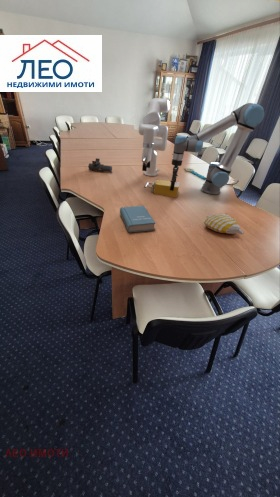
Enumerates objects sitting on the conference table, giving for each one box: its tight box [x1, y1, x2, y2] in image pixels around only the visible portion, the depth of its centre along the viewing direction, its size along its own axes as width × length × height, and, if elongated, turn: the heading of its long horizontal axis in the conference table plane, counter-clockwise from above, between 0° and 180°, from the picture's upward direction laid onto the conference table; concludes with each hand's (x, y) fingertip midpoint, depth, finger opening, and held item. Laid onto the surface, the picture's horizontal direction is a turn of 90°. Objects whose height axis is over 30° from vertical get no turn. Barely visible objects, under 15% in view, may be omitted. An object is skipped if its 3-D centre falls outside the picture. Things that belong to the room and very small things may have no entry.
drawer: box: [143, 180, 156, 193], centre depth 176 cm, size 23×10×6 cm, turn 77°
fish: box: [203, 213, 245, 235], centre depth 133 cm, size 25×8×20 cm
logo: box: [183, 167, 206, 180], centre depth 223 cm, size 34×10×1 cm, turn 16°
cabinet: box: [153, 179, 180, 198], centre depth 176 cm, size 18×11×8 cm, turn 77°
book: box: [119, 205, 156, 233], centre depth 136 cm, size 23×16×5 cm
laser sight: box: [88, 158, 113, 173], centre depth 208 cm, size 10×22×10 cm, turn 78°
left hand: (146, 169), depth 171 cm, fingers open, 9 cm apart
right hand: (172, 187), depth 174 cm, fingers open, 13 cm apart
